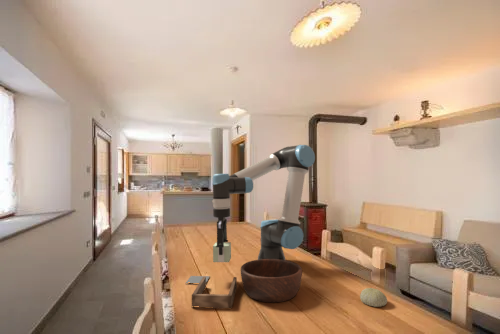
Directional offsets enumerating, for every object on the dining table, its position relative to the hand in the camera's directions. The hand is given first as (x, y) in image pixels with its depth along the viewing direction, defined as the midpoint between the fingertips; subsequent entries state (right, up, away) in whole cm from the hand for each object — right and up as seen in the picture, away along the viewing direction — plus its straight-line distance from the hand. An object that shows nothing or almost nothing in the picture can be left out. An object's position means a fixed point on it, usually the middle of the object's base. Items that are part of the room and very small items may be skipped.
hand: (222, 259), depth 129 cm
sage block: (0, 0, 0) cm, 0 cm away
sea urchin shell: (+58, -10, -22) cm, 63 cm away
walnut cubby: (-1, -10, -15) cm, 18 cm away
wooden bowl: (+21, -10, -12) cm, 26 cm away
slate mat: (-11, -10, +2) cm, 16 cm away
